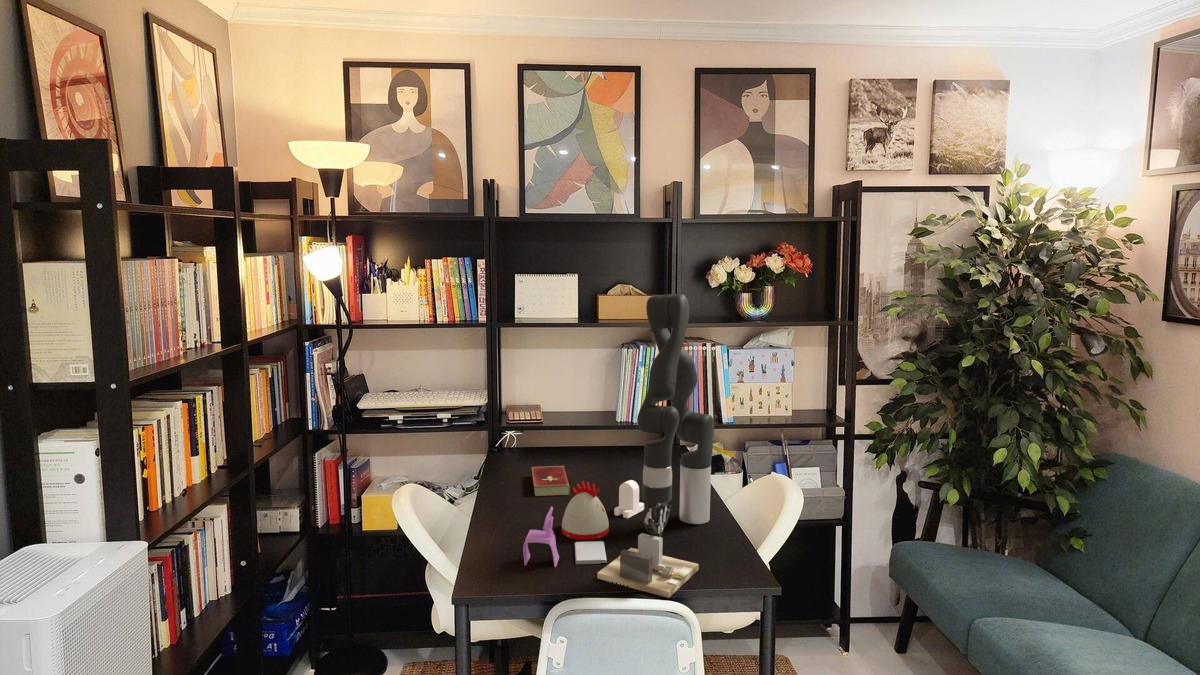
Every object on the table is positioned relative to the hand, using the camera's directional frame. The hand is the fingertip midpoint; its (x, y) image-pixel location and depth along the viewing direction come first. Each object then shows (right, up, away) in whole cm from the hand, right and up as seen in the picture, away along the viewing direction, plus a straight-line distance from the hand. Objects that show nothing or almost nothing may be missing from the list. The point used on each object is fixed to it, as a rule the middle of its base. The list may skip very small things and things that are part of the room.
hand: (656, 545), depth 197 cm
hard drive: (-17, -6, +9) cm, 20 cm away
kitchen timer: (-19, -3, +25) cm, 32 cm away
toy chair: (-30, -6, +4) cm, 31 cm away
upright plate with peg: (-1, -5, -6) cm, 8 cm away
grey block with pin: (+3, -6, -8) cm, 11 cm away
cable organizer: (-5, -1, +41) cm, 41 cm away
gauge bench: (-2, -7, -3) cm, 8 cm away
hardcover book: (-32, +2, +65) cm, 73 cm away
